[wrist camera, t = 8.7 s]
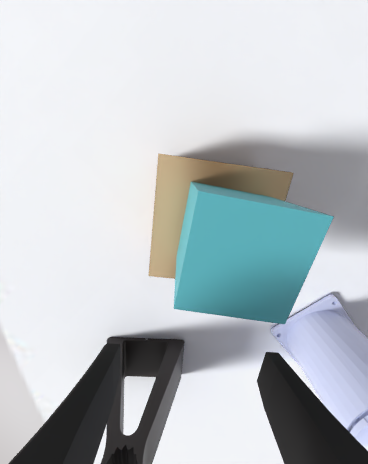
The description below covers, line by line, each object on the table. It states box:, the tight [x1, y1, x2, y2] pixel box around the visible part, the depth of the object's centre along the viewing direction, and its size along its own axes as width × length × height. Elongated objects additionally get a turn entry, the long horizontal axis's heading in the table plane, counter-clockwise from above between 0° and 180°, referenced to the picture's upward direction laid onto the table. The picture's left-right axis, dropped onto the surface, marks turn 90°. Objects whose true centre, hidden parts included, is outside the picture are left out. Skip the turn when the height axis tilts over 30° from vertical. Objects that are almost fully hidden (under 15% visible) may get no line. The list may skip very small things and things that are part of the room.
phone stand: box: [101, 337, 184, 464], centre depth 18 cm, size 9×6×12 cm, turn 85°
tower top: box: [149, 154, 293, 279], centre depth 14 cm, size 8×8×3 cm
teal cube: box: [174, 182, 333, 324], centre depth 10 cm, size 5×5×5 cm
